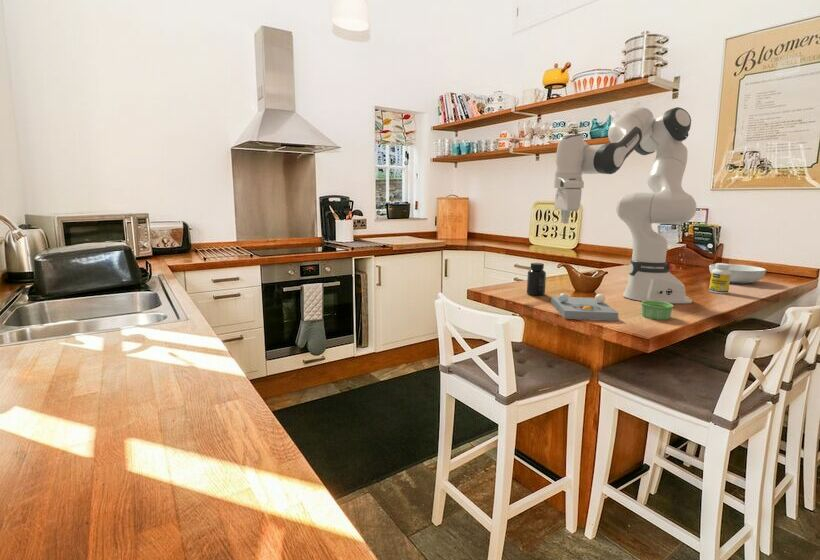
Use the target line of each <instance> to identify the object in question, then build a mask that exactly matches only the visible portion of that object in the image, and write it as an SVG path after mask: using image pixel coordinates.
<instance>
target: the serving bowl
mask: <svg viewBox="0 0 820 560" xmlns="http://www.w3.org/2000/svg"><path fill="white" fill-rule="evenodd" d="M729 264H730V267H729V268H728V270H729V271H730V272H731V278H730V284H731V283H732V284H738V285H739V284H740V285H743V284H750V283H756V282H757V281H758V282H759V280H761V279H763V278H764V276H765V274H766V272H767V269H766V268H763V267H759V266H755V265H746V264H736V263H735V264H734V263H729ZM715 265H716V263H714V264H713V263H712V264H709V267H708V268H709V270H708V271H709V273H710V274H711V273H712V270H714V269H716V267H715Z"/></svg>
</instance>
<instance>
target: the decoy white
mask: <svg viewBox="0 0 820 560" xmlns="http://www.w3.org/2000/svg"><path fill="white" fill-rule="evenodd" d="M594 298H595V301H596V302H597V303H603V302H604V303H605V301H606V297H605V295H604V294H602V293H597V294H596V295H595V296H594Z"/></svg>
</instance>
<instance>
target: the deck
mask: <svg viewBox="0 0 820 560" xmlns="http://www.w3.org/2000/svg"><path fill="white" fill-rule="evenodd" d="M558 297H559V296H551V299H550V304H551V305H552V307H554V309H555V308H556V309H555V310H556V311H557V312H558V313H559V315H560V316H561V317H562V318H563V319H566V320H567V319H569V320H586V319H589V320H590V321H591V320H592V321H613V322H614V321H617V322H618V320H619V312H618V311H616V310H615V309H614V308H613V307H612V306H610V305H608V304H607V303H605V301H604V302H603V303H597V302H596V301H595V297H583V296H579V297H576V296H568V297H569V299H568V301H567V302H565V303H562V302H560V301H559V298H558ZM584 306H590V307H591V308H592V310H587V309H582V308H583V307H584Z"/></svg>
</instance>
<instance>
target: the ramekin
mask: <svg viewBox="0 0 820 560" xmlns="http://www.w3.org/2000/svg"><path fill="white" fill-rule="evenodd" d="M640 303H641V315H642V317H644V318H646V317H647V318H646V319H650V318H651V319H650V320H655V319H657V320H656V321H667V319H668V320H669V319H670V318H671V317H672V316H671V315H672V310H673V309H674V304H673V303H666V302H661V301H640Z"/></svg>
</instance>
